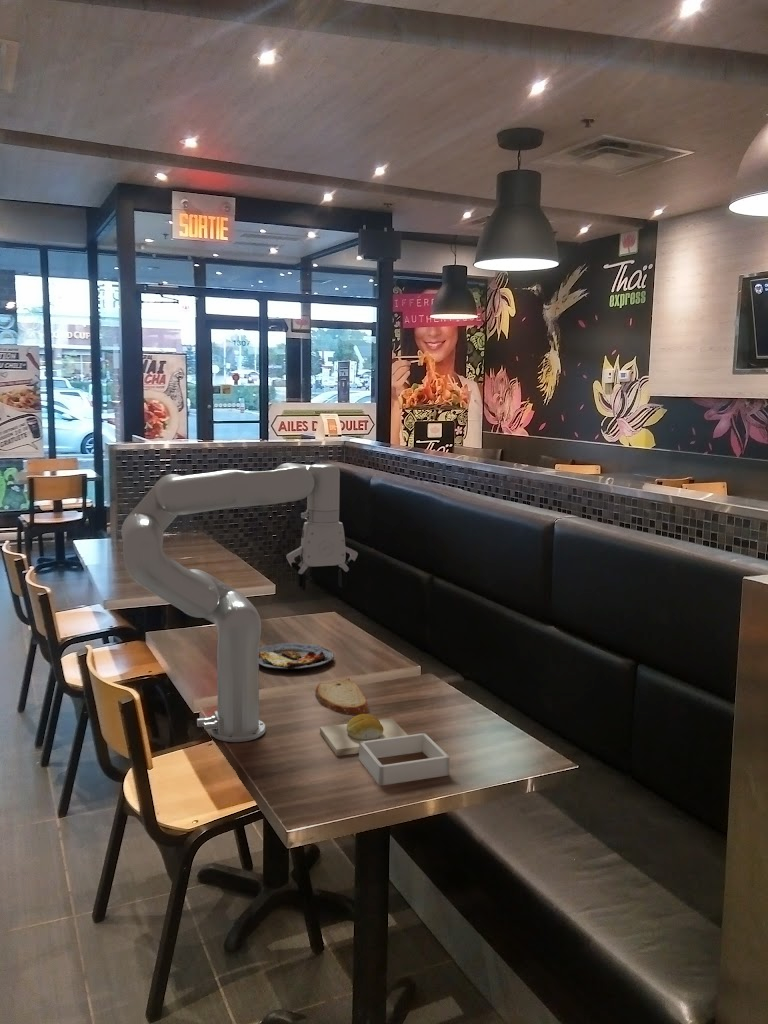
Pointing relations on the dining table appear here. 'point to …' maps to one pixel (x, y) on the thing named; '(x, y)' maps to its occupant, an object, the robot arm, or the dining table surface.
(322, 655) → the food plate
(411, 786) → the dining table surface
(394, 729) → the birch board
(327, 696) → the slice of bread
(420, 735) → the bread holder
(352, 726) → the bread roll
